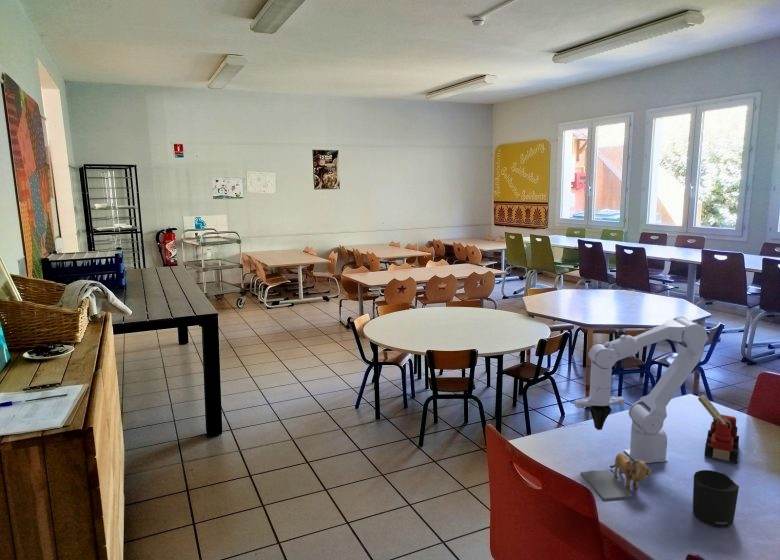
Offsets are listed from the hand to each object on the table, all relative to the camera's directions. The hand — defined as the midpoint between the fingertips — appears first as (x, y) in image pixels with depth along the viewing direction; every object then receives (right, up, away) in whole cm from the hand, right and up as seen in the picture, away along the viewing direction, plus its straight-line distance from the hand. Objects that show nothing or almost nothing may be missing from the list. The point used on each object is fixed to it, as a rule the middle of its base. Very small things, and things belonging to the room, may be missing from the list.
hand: (598, 428), depth 160 cm
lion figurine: (+4, -12, -12) cm, 17 cm away
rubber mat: (-3, -12, -13) cm, 18 cm away
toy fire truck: (+38, -8, +4) cm, 39 cm away
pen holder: (+18, -15, -28) cm, 36 cm away
